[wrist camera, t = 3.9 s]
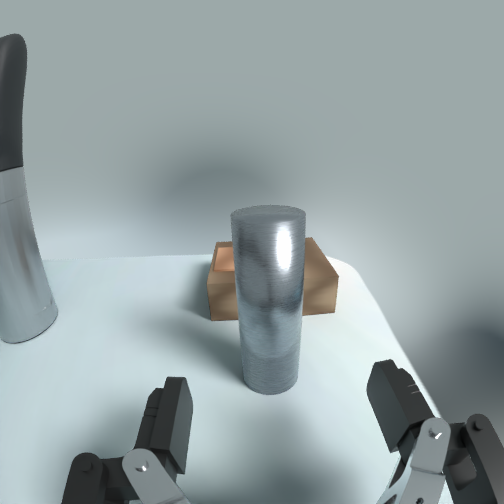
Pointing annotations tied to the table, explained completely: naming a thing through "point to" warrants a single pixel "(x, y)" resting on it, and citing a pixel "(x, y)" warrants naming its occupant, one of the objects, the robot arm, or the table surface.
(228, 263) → the block
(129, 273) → the table surface
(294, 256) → the barrel peg
